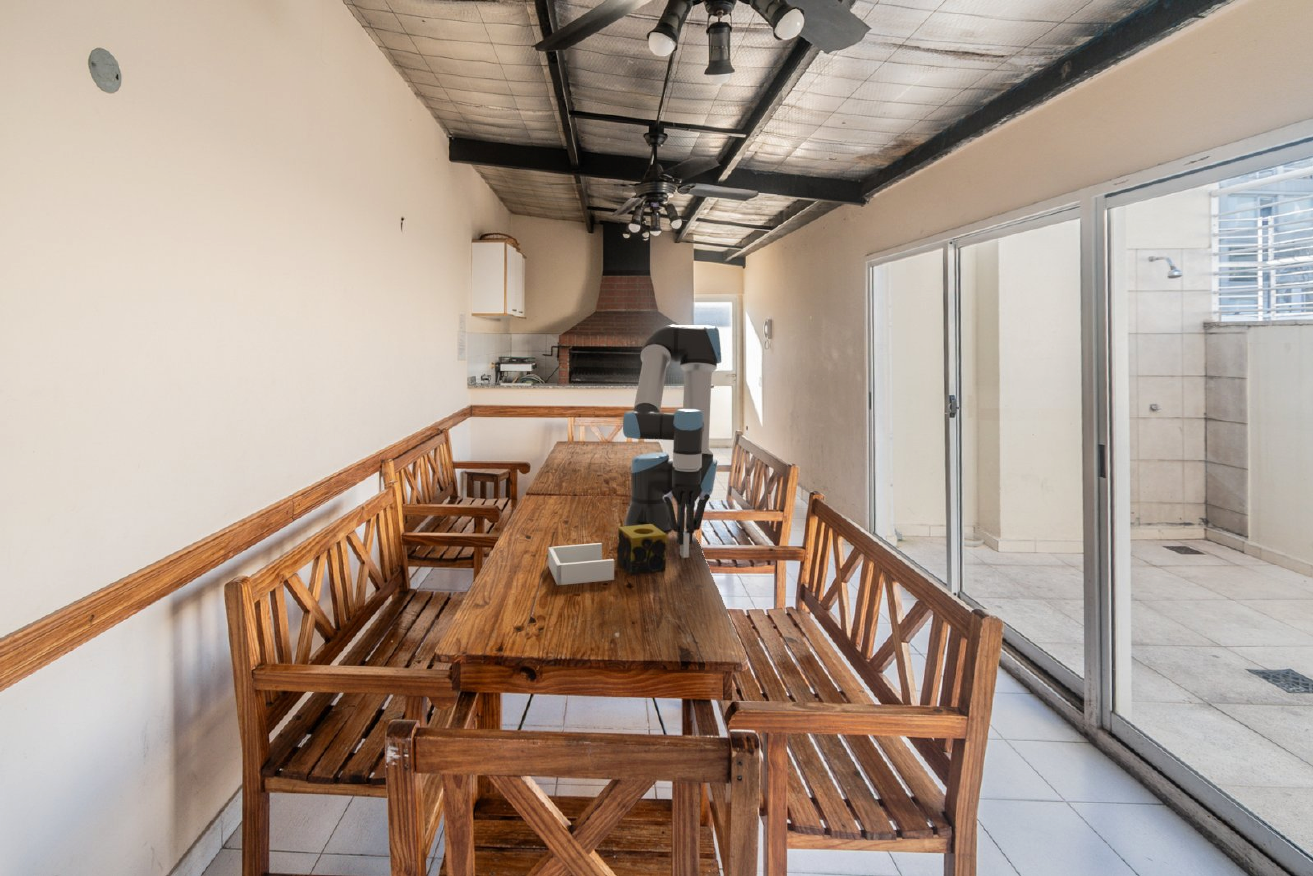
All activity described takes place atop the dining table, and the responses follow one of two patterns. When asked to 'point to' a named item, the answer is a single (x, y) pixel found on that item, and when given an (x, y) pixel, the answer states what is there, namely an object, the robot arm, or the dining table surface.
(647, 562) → the candle
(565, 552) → the frame
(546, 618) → the dining table surface
